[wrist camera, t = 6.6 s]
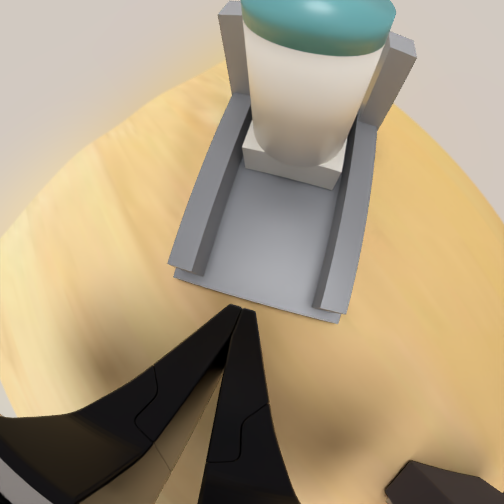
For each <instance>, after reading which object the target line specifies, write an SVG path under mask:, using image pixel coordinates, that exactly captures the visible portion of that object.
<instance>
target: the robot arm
mask: <svg viewBox="0 0 504 504" xmlns="http://www.w3.org/2000/svg"><path fill="white" fill-rule="evenodd" d="M223 371H224V372H223ZM222 373H223V377H222V382H221V387H220V392H219V397H218V402H217V407H216V412H215V417H214V423H213V428H212V433H211V438H210V443H209V448H208V453H207V459H206V464H205V469H204V474H203V479H202V484H201V489H200V494H199V499H198V504H301V503H300V502H299V500H298V498H297V496H296V494H295V492H294V489H293V487H292V484H291V482H290V479H289V476H288V473H287V470H286V467H285V464H284V461H283V458H282V455H281V451H280V448H279V445H278V441H277V438H276V434H275V430H274V425H273V420H272V415H271V408H270V404H269V396H268V390H267V383H266V377H265V370H264V364H263V357H262V351H261V344H260V337H259V331H258V324H257V318H256V312H255V311H253V310H250V309H246V308H243V309H242V308H241V307H239V306H236V305H232V304H229V305H228V306H227V307H225V308H224V309H223V310H222V311H220V312H219V313H218V314H217V315H215V316H214V317H213V318H212V319H210V320H209V321H208V322H207V323H205V324H204V325H203V326H202V327H200V328H199V329H198V330H197V331H195V332H194V333H193V334H192V335H190V336H189V337H188V338H187V339H185V340H184V341H183V342H181V343H180V344H179V345H178V346H176V347H175V348H174V349H173V350H171V351H170V352H169V353H167V354H166V355H165V356H164V357H162V358H161V359H160V360H158V361H157V362H156V363H155V364H154V366H153V365H152V366H150V367H149V368H148V369H147V370H145V371H144V372H143V373H141V374H140V375H138V376H137V377H136V378H134V379H133V380H131V381H130V382H128V383H127V384H125V385H123V386H122V387H120V388H118V389H117V390H115V391H113V392H111V393H110V394H108V395H106V396H104V397H102V398H101V399H99V400H97V401H95V402H93V403H91V404H89V405H88V406H86V407H84V408H82V409H80V410H77V411H75V412H71V413H68V414H62V415H52V416H39V417H20V418H9V417H4V416H2V415H1V414H0V504H154V503H155V501H156V500H157V498H158V496H159V494H160V492H161V491H162V489H163V487H164V485H165V483H166V481H167V480H168V478H169V476H170V474H171V472H172V470H173V468H174V467H175V465H176V463H177V461H178V459H179V457H180V455H181V454H182V452H183V450H184V448H185V446H186V444H187V442H188V440H189V438H190V436H191V435H192V433H193V431H194V429H195V427H196V425H197V423H198V421H199V419H200V417H201V415H202V413H203V411H204V409H205V407H206V405H207V403H208V402H209V400H210V398H211V396H212V394H213V392H214V390H215V388H216V386H217V384H218V382H219V380H220V378H221V376H222Z"/></svg>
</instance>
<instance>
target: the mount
mask: <svg viewBox="0 0 504 504" xmlns="http://www.w3.org/2000/svg"><path fill="white" fill-rule="evenodd" d="M218 19H219V24H220V30H221V35H222V41H223V46H224V52H225V57H226V63H227V69H228V74H229V80H230V86H231V91H232V97H231V99H230V101H229V103H228V106H227V108H226V110H225V112H224V114H223V117H222V119H221V121H220V124H219V126H218V128H217V131H216V133H215V135H214V138H213V140H212V142H211V145H210V147H209V150H208V152H207V155H206V157H205V160H204V162H203V165H202V167H201V170H200V172H199V175H198V177H197V180H196V183H195V185H194V188H193V191H192V193H191V196H190V199H189V201H188V204H187V207H186V210H185V213H184V215H183V218H182V221H181V224H180V227H179V230H178V233H177V236H176V239H175V242H174V245H173V248H172V251H171V254H170V257H169V260H168V264H169V265H171V266H173V267H176V270H175V273H174V276H173V277H174V278H177V279H180V280H183V281H187V282H190V283H193V284H196V285H199V286H202V287H206V288H209V289H212V290H215V291H219V292H222V293H225V294H229V295H232V296H236V297H239V298H242V299H246V300H249V301H253V302H256V303H260V304H263V305H267V306H271V307H274V308H278V309H282V310H285V311H289V312H293V313H296V314H300V315H304V316H308V317H312V318H316V319H320V320H324V321H328V322H332V323H336V324H338V323H339V319H340V315H341V314H346V313H347V309H348V305H349V301H350V297H351V293H352V289H353V284H354V280H355V276H356V271H357V266H358V262H359V257H360V252H361V247H362V242H363V236H364V231H365V225H366V219H367V213H368V206H369V200H370V193H371V185H372V177H373V169H374V160H375V150H376V138H377V131H378V129H379V127H380V125H381V124H382V122H383V120H384V118H385V116H386V115H387V113H388V111H389V109H390V107H391V106H392V104H393V102H394V100H395V98H396V97H397V95H398V93H399V91H400V89H401V87H402V85H403V84H404V82H405V80H406V78H407V76H408V74H409V72H410V70H411V68H412V67H413V65H414V63H415V61H416V59H417V56H416V51H415V46H414V41H413V40H411V39H408V38H406V37H403V36H401V35H398V34H396V33H393V32H389V34H388V37H387V40H386V42H385V45H384V48H383V50H382V53H381V55H380V58H379V61H378V63H377V66H376V68H375V71H374V73H373V76H372V78H371V81H370V83H369V86H368V88H367V91H366V93H365V96H364V98H363V100H362V103H361V105H360V108H359V110H358V112H357V115H356V117H355V120H354V122H353V124H352V127H351V129H350V131H349V134H348V136H347V143H346V149H345V155H344V161H343V167H342V172H341V174H340V176H339V178H338V180H337V182H336V184H335V186H334V188H333V189H332V190H329V189H326V188H322V187H318V186H315V185H311V184H308V183H304V182H300V181H296V180H293V179H289V178H285V177H281V176H277V175H273V174H269V173H264V172H260V171H256V170H251V169H247V168H245V162H244V156H243V150H242V146H243V143H244V140H245V138H246V135H247V132H248V130H249V127H250V124H251V122H252V109H251V98H250V88H249V78H248V67H247V57H246V47H245V38H244V28H243V19H242V9H241V1H229V2H228V3H227V4H226V5H225V6H224V8H223V9H222V10H221V11H220V12H219V14H218Z"/></svg>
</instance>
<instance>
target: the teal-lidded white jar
mask: <svg viewBox="0 0 504 504" xmlns="http://www.w3.org/2000/svg"><path fill="white" fill-rule="evenodd" d="M241 9H242V19H243V28H244V38H245V47H246V57H247V67H248V78H249V88H250V98H251V109H252V122H251V124H250V127H249V130H248V132H247V135H246V138H245V140H244V143H243V146H242V150H243V156H244V162H245V168H247V169H251V170H256V171H260V172H264V173H269V174H273V175H277V176H281V177H285V178H289V179H293V180H296V181H300V182H304V183H308V184H311V185H315V186H318V187H322V188H326V189H329V190H332V189H333V188H334V186H335V184H336V182H337V180H338V178H339V176H340V174H341V172H342V167H343V161H344V155H345V149H346V143H347V136H348V134H349V131H350V129H351V127H352V124H353V122H354V120H355V117H356V115H357V112H358V110H359V108H360V105H361V103H362V100H363V98H364V96H365V93H366V91H367V88H368V86H369V83H370V81H371V78H372V76H373V73H374V71H375V68H376V66H377V63H378V61H379V58H380V55H381V53H382V50H383V48H384V45H385V42H386V40H387V37H388V34H389V32H390V29H391V26H392V23H393V21H394V18H395V15H396V10H395V7H394V6H393V4H392V2H391V1H390V0H241Z"/></svg>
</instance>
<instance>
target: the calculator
mask: <svg viewBox="0 0 504 504" xmlns="http://www.w3.org/2000/svg"><path fill="white" fill-rule="evenodd" d="M385 493H386V494H387V496H388V498H387V499H386V502H387V504H504V494H503V493H501V492H500V491H498V490H497V489H496V488H494V487H493V486H491V485H490V484H488V483H487V482H486V481H484V480H483V479H481V478H480V477H475V476H470V475H465V474H460V473H456V472H452V471H447V470H443V469H439V468H436V467H432V466H428V465H425V464H421V463H418V462H415V461H410V462H409V463H408V464H407V465H406V467H405V468H404V469H403V470H402V471H401V473H400V474H399V475H398V476H397V477H396V478H395V480H394V481H393V482H392V483H391V484H390V485H389V486H388V487H387V489H386V490H385Z"/></svg>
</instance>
